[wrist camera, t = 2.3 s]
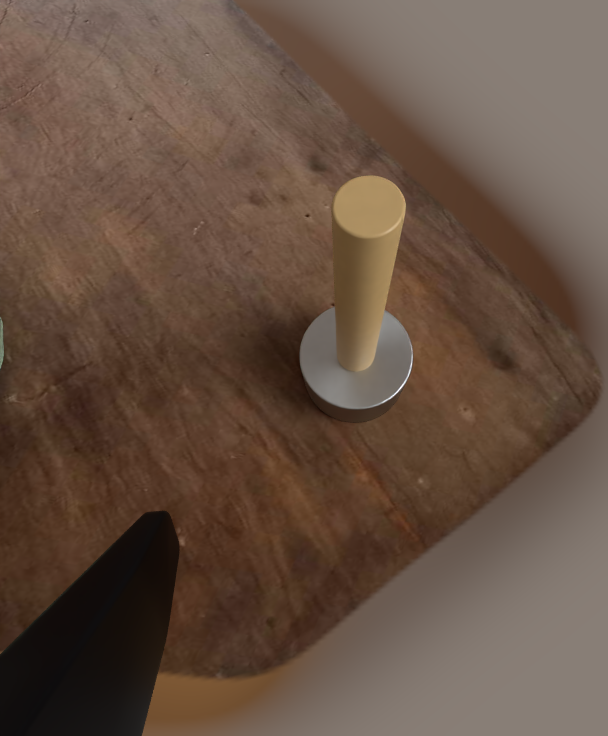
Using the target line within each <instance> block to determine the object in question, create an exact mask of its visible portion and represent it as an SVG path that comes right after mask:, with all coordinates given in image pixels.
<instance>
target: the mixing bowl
mask: <svg viewBox="0 0 608 736" xmlns="http://www.w3.org/2000/svg"><path fill="white" fill-rule="evenodd" d="M2 323H3V322H2V320H1V317H0V370H1V366H2V363H3V357H4V343H3V324H2Z"/></svg>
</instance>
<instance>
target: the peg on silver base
mask: <svg viewBox="0 0 608 736" xmlns="http://www.w3.org/2000/svg"><path fill="white" fill-rule="evenodd" d="M405 211H406V204H405V199H404V197H403V194H402V193H401V191H400V190H399V188H398V187H397V186H396V185H395V184H394V183H392V182H391V181H389V180H387V179H385V178H382V177H379V176H370V175H368V176H360V177H356V178H354V179H351V180H349V181H348V182H346V183H345V184H343V185H342V186H341V187H340V188H339V190H338V191H337V192H336V194H335V196H334V198H333V201H332V207H331V212H332V239H333V267H334V294H335V307H332V308H330V309H328V310H326V311H325V312H323V313H322V314H320V315H319V316H318V317H317V318H316V319H315V320H314V321H313V322H312V323H311V324H310V325H309V327H308V328H307V330H306V332H305V334H304V336H303V338H302V341H301V345H300V352H299V361H300V367H301V371H302V374H303V378H304V381H305V385H306V388H307V391H308V393H309V395H310V397H311V399H312V400H313V402H314V403H315V404H316V405H317V407H318V408H319V409H321V410H322V411H323V412H324V413H326V414H327V415H329V416H331V417H333V418H335V419H338V420H340V421H345V422H353V423H355V422H365V421H369V420H372V419H375V418H377V417H379V416H381V415H382V414H384V413H385V412H387V411H388V410H389V409H390V408H391V407H392V406H393V405H394V404H395V402H396V401H397V399H398V398H399V396H400V394H401V392H402V390H403V388H404V386H405V384H406V382H407V380H408V378H409V376H410V373H411V370H412V365H413V348H412V344H411V340H410V338H409V335H408V333H407V332H406V330H405V328H404V327H403V325H402V324H401V323H400V322H399V321H398V320H397V319H396V318H395V317H394V316H393V315H391V314H390V313H389V312H387V311H385V305H386V301H387V296H388V291H389V287H390V282H391V277H392V272H393V268H394V263H395V258H396V254H397V249H398V244H399V239H400V235H401V230H402V225H403V221H404V216H405Z"/></svg>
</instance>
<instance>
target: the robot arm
mask: <svg viewBox="0 0 608 736" xmlns="http://www.w3.org/2000/svg"><path fill="white" fill-rule="evenodd" d="M178 559H179V541H178V537H177V534H176V531H175V528H174V525H173V522H172V519H171V516H170V514H169V513H168V512H167V511H154V512H147V513H145V514H143V515H142V516H141V517H140V518H139V519H138V520H137V521H136V522H135V523H134V524H133V525H132V526H131V527H130V528H129V529H128V530H127V531H126V532H125V533H124V534H123V535H122V536H121V537H120V538H119V539H118V540H117V541H116V542H115V543H113V544H112V545H111V546H110V547H109V548H108V549H107V550H106V551H105V552H104V553H103V554H102V555H101V556H100V557H99V558H98V559H97V560H96V561H95V562H94V563H93V564H92V565H91V566H90V567H89V568H88V569H87V570H86V571H85V572H84V573H83V574H82V575H81V576H80V577H79V578H78V579H77V580H76V581H75V582H74V583H73V584H72V585H71V586H70V587H69V588H67V589H66V590H65V591H64V592H63V593H62V594H61V595H60V596H59V597H58V598H57V599H56V600H55V601H54V602H53V603H52V604H51V605H50V606H49V607H48V608H47V609H46V610H45V611H44V612H43V613H42V614H41V615H40V616H39V617H38V618H37V619H36V620H35V621H34V622H33V623H32V624H31V625H30V626H29V627H28V628H27V629H26V630H25V631H24V632H22V633H21V634H20V635H19V636H18V637H17V638H16V639H15V640H14V641H13V642H12V643H11V644H10V645H9V646H8V647H7V648H6V649H5V650H4V651H3V652H2V653H1V654H0V736H142V733H143V729H144V724H145V721H146V717H147V713H148V709H149V705H150V701H151V697H152V693H153V690H154V685H155V682H156V678H157V674H158V670H159V666H160V662H161V658H162V654H163V650H164V646H165V642H166V637H167V632H168V626H169V620H170V613H171V607H172V600H173V593H174V586H175V579H176V572H177V566H178Z"/></svg>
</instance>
